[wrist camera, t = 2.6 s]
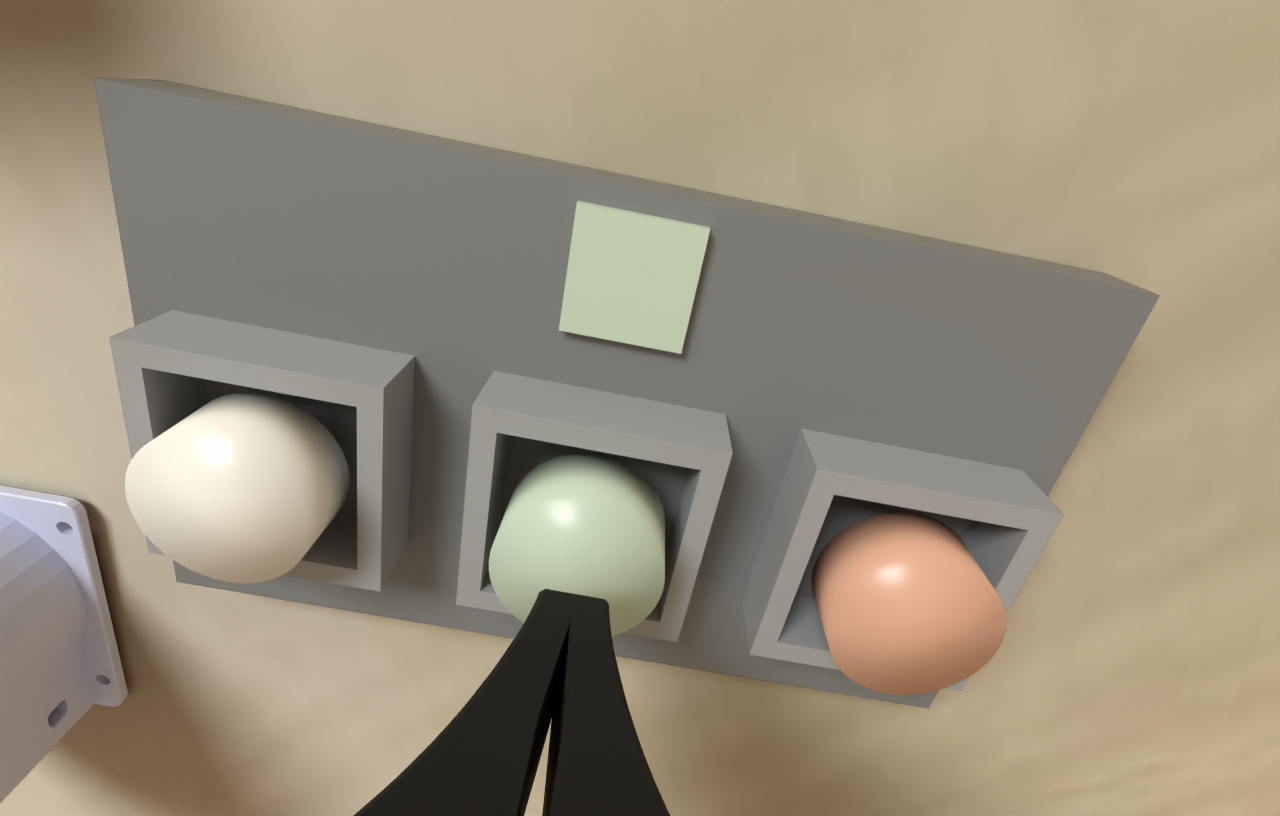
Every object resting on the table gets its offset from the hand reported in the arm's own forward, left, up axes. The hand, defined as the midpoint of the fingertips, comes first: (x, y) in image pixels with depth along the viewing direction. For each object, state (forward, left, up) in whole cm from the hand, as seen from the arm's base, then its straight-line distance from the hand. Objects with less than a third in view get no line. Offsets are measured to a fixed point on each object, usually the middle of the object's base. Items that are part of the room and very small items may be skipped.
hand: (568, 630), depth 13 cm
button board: (+1, 0, -7) cm, 7 cm away
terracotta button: (0, -8, -4) cm, 9 cm away
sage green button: (0, 0, -4) cm, 4 cm away
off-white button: (0, +8, -4) cm, 9 cm away
